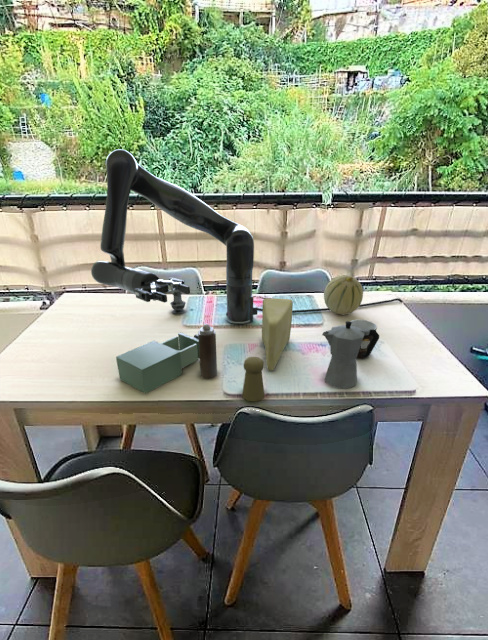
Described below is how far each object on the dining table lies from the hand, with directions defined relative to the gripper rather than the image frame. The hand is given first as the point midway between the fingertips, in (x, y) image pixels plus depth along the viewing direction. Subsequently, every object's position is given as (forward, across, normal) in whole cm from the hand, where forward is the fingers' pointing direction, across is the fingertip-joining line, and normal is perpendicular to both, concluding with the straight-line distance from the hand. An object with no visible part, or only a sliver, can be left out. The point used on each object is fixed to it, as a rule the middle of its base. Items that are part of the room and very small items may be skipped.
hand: (177, 294), depth 116 cm
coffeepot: (+42, +22, +22) cm, 53 cm away
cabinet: (-1, -12, +22) cm, 25 cm away
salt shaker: (-32, +27, +22) cm, 47 cm away
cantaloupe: (+17, +67, +23) cm, 73 cm away
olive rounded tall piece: (+27, 0, +22) cm, 35 cm away
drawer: (-1, +1, +21) cm, 21 cm away
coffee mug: (+37, +39, +23) cm, 58 cm away
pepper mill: (+11, 0, +22) cm, 24 cm away
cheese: (+18, +22, +22) cm, 36 cm away
